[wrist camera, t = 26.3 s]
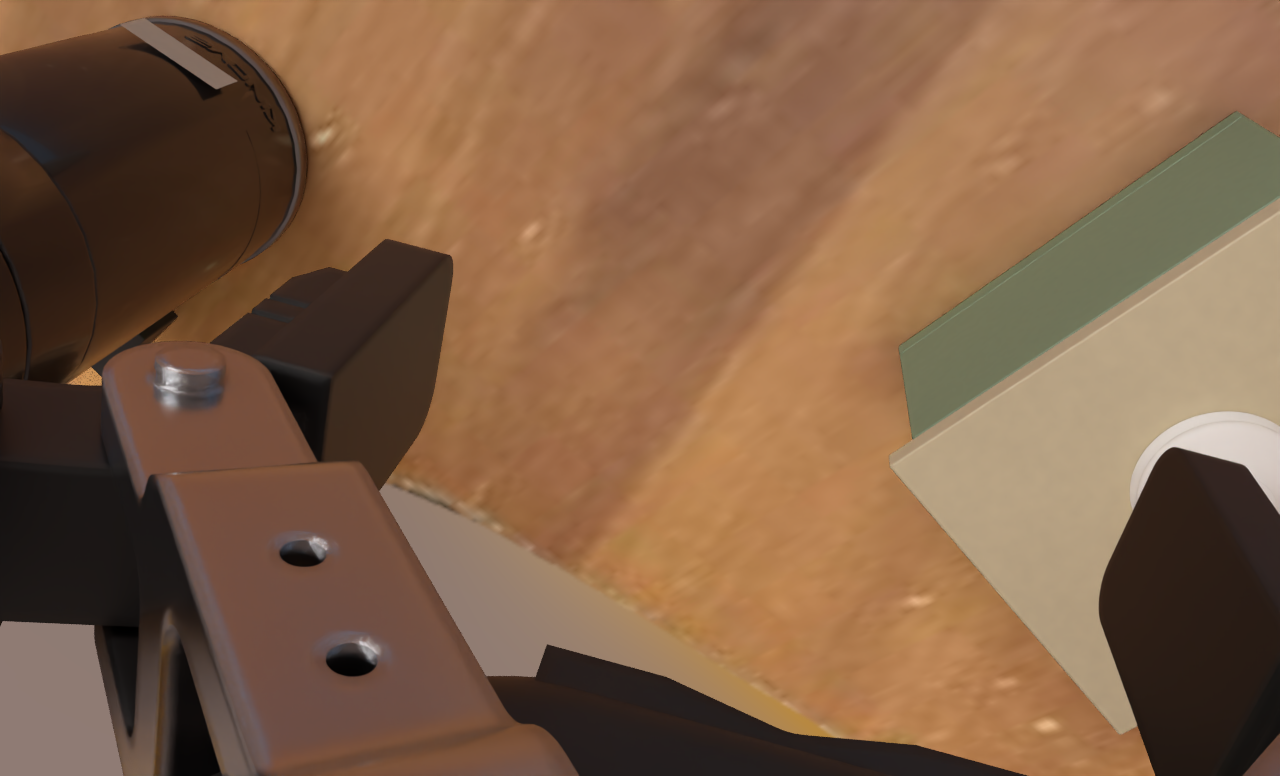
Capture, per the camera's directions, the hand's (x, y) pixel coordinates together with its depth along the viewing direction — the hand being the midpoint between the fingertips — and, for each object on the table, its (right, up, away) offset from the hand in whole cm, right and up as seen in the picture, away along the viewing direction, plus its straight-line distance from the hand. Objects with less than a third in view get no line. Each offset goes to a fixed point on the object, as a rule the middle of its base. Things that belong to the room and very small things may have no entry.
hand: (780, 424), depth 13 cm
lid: (+16, -2, +23) cm, 28 cm away
